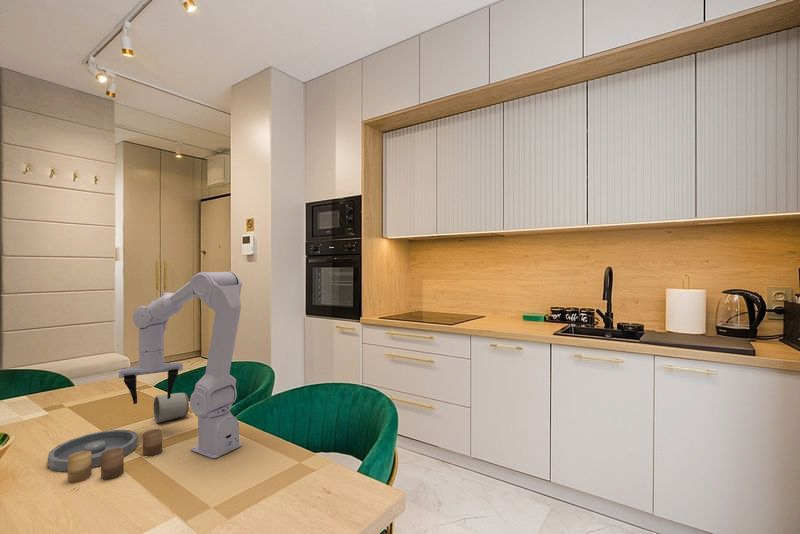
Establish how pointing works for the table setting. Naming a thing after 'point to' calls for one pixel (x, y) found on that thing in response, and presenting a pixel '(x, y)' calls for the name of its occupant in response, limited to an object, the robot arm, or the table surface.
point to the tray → (92, 447)
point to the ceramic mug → (170, 407)
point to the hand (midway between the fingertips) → (152, 400)
